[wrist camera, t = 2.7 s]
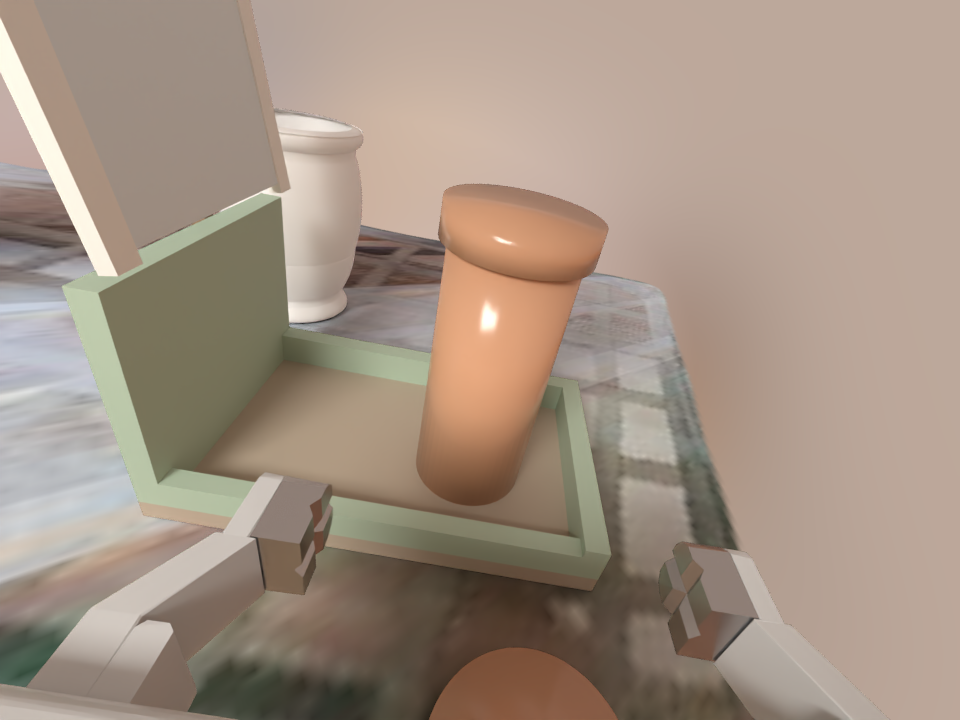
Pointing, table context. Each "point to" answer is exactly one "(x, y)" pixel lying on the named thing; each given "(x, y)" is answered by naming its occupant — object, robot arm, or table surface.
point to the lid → (142, 113)
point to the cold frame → (310, 413)
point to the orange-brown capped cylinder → (498, 331)
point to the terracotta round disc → (520, 690)
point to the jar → (318, 211)
